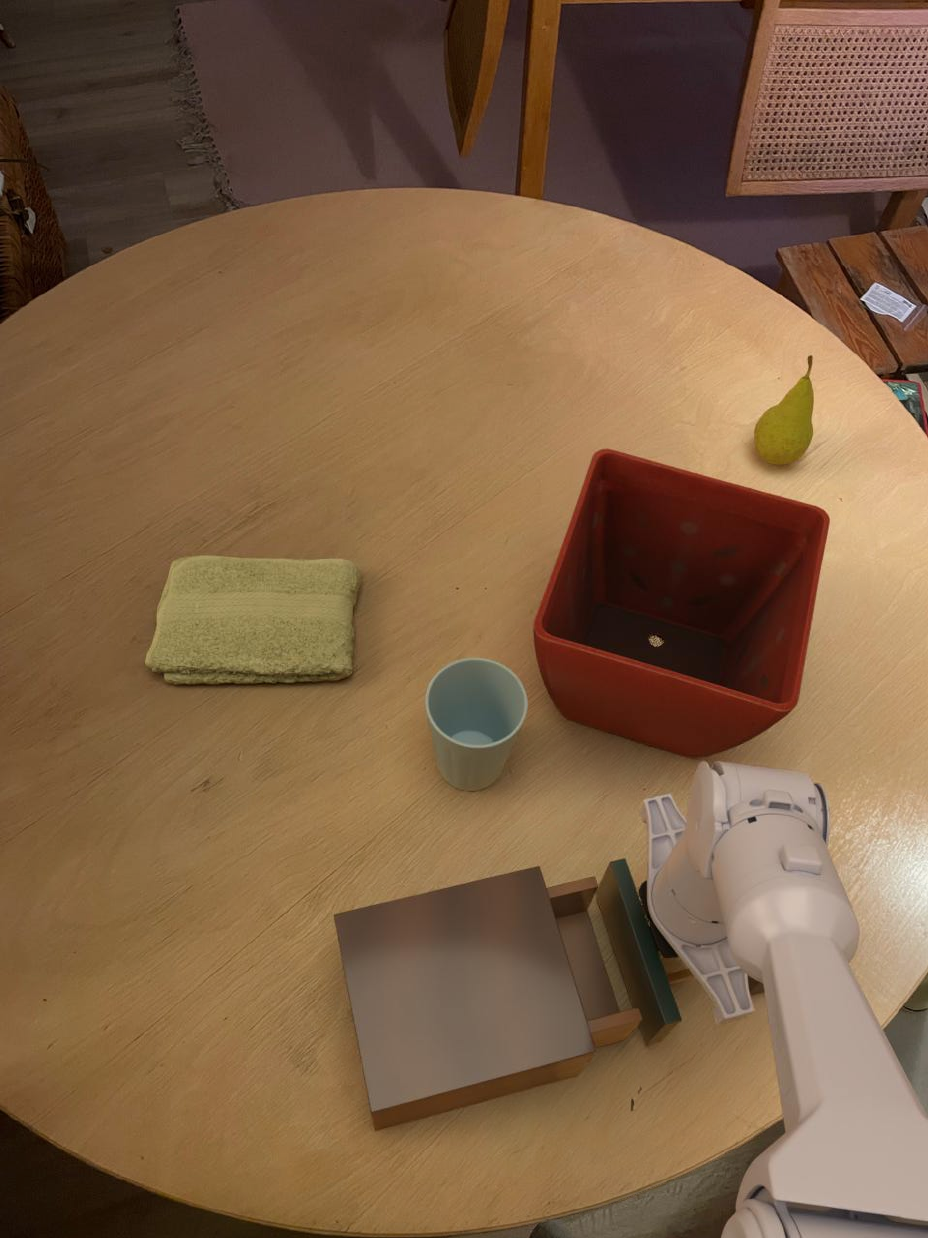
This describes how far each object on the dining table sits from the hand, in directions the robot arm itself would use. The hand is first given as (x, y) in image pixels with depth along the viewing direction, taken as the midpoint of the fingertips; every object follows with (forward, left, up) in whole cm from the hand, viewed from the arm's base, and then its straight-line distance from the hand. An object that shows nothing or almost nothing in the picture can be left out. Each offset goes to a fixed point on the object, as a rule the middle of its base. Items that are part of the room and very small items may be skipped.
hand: (666, 939), depth 74 cm
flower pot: (+23, -8, -5) cm, 25 cm away
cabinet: (0, +15, -5) cm, 16 cm away
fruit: (+45, -30, -5) cm, 54 cm away
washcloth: (+36, +24, -5) cm, 44 cm away
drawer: (0, +6, -4) cm, 8 cm away
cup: (+19, +9, -5) cm, 22 cm away
